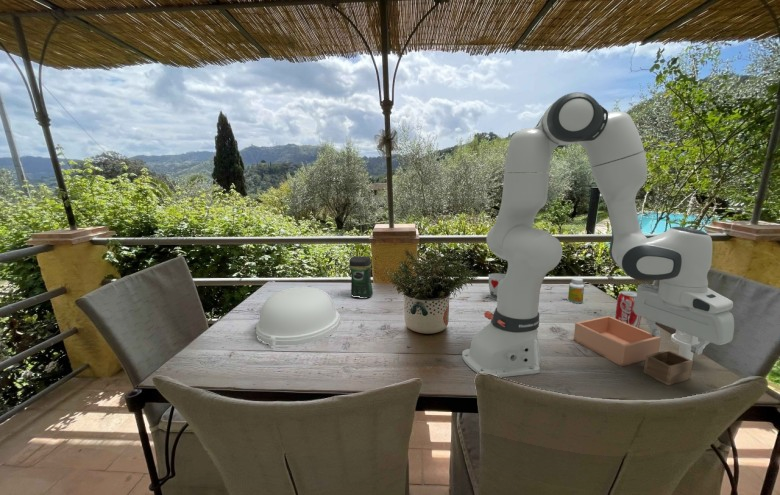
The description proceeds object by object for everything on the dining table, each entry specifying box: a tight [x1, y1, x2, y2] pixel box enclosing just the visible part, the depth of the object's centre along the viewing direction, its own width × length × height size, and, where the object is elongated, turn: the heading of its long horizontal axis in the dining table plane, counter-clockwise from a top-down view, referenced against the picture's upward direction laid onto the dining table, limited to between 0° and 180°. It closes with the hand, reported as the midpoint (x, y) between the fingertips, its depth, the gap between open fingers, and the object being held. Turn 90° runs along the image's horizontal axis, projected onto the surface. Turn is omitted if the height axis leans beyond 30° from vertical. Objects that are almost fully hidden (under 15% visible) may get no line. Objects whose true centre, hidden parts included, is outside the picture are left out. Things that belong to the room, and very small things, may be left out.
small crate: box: [643, 349, 694, 387], centre depth 86 cm, size 8×6×5 cm
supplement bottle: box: [567, 276, 585, 304], centre depth 136 cm, size 5×5×10 cm
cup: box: [488, 272, 506, 301], centre depth 142 cm, size 8×8×10 cm
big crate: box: [573, 315, 662, 367], centre depth 100 cm, size 14×16×6 cm
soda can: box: [614, 289, 642, 328], centre depth 113 cm, size 7×7×12 cm
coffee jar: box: [348, 255, 374, 298], centre depth 149 cm, size 10×8×19 cm
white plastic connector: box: [670, 329, 706, 361], centre depth 91 cm, size 7×7×15 cm
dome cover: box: [255, 286, 341, 347], centre depth 120 cm, size 32×30×14 cm
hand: (674, 343), depth 84 cm, fingers open, 8 cm apart
